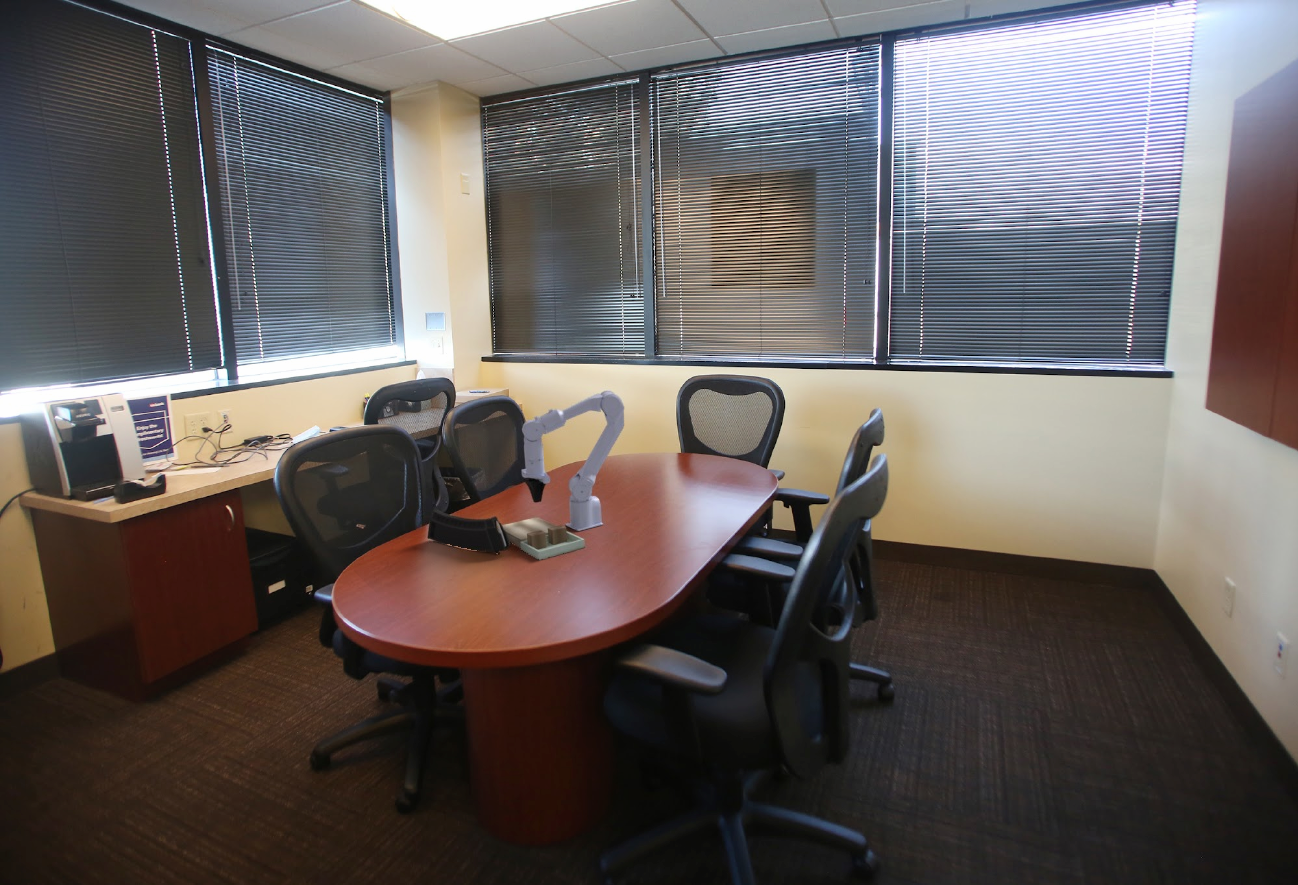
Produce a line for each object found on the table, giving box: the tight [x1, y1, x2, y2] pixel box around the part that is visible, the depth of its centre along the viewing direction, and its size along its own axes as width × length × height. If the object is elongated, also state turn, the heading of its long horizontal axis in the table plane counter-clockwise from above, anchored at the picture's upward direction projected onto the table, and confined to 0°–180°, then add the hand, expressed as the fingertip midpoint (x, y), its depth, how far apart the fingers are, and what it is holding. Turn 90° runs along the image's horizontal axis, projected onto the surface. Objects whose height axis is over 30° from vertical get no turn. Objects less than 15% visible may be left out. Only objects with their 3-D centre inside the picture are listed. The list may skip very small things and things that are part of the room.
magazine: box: [426, 508, 511, 554], centre depth 208 cm, size 17×3×30 cm
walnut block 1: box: [527, 530, 547, 550], centre depth 205 cm, size 4×4×3 cm
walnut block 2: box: [548, 524, 568, 545], centre depth 209 cm, size 4×4×3 cm
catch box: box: [520, 530, 586, 561], centre depth 205 cm, size 15×11×2 cm
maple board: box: [501, 516, 556, 549], centre depth 216 cm, size 14×16×3 cm
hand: (537, 501), depth 221 cm, fingers closed
